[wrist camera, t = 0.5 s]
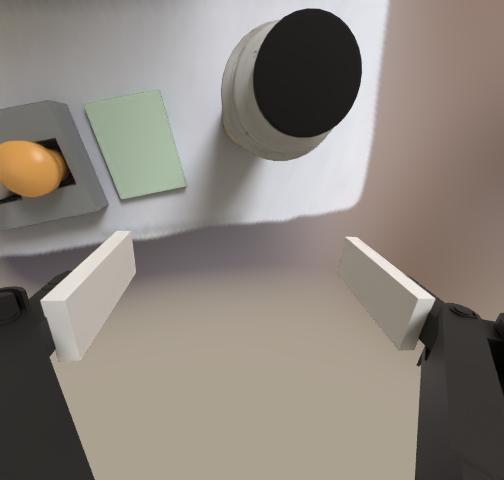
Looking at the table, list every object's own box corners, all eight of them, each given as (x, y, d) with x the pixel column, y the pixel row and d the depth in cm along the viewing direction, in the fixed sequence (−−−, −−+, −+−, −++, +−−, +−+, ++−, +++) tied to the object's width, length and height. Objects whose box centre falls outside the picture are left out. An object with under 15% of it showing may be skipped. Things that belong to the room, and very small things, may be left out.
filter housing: (-70, 130, 33) (-106, 129, 30) (66, 104, 34) (47, 100, 30) (-8, 227, 39) (-32, 237, 35) (108, 204, 39) (96, 211, 36)
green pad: (86, 104, 34) (82, 103, 33) (159, 90, 34) (158, 89, 33) (123, 197, 39) (121, 199, 38) (186, 185, 39) (185, 186, 38)
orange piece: (15, 145, 33) (-21, 146, 28) (64, 135, 33) (37, 135, 28) (40, 192, 36) (11, 201, 31) (85, 183, 36) (64, 191, 31)
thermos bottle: (287, 122, 37) (428, 93, 12) (246, 158, 39) (292, 204, 13) (253, 73, 35) (339, -109, 9) (210, 114, 36) (178, 61, 10)
